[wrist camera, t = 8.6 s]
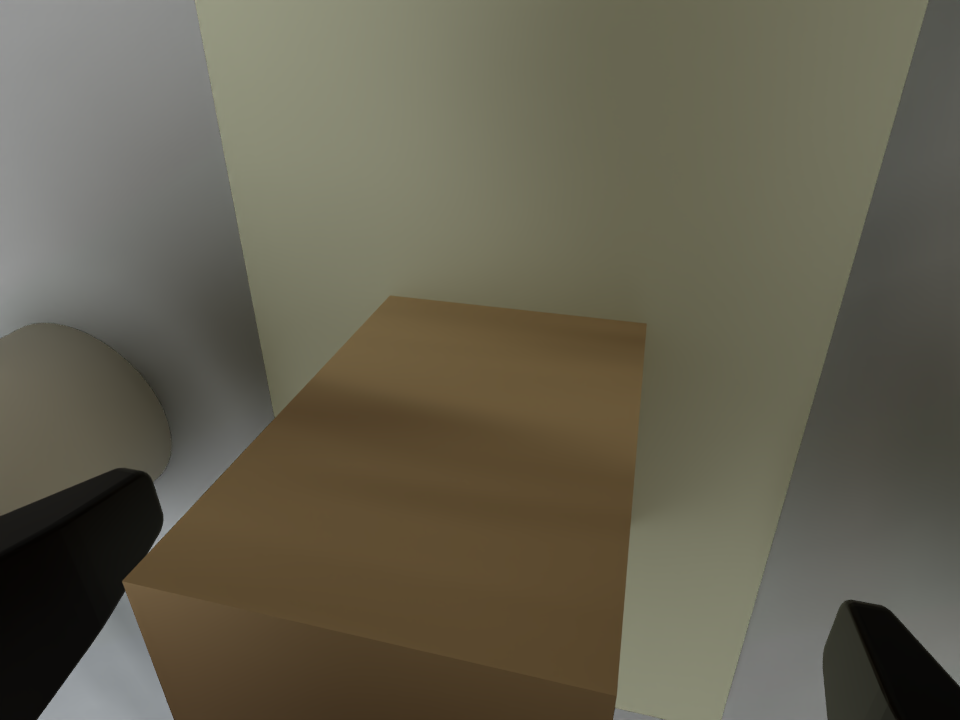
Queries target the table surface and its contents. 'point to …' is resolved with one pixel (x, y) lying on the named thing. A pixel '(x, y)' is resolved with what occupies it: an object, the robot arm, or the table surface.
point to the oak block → (415, 531)
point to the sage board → (583, 231)
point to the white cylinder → (72, 414)
